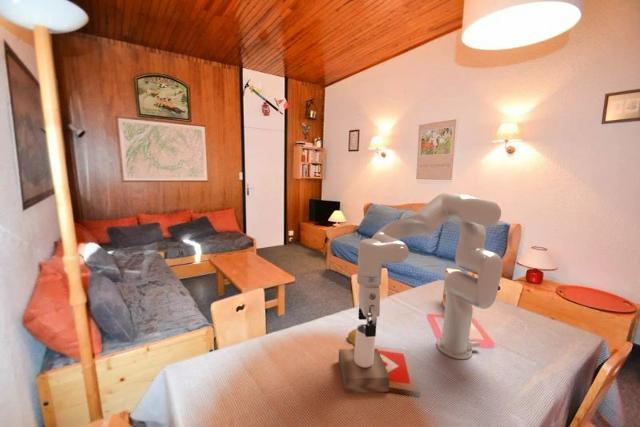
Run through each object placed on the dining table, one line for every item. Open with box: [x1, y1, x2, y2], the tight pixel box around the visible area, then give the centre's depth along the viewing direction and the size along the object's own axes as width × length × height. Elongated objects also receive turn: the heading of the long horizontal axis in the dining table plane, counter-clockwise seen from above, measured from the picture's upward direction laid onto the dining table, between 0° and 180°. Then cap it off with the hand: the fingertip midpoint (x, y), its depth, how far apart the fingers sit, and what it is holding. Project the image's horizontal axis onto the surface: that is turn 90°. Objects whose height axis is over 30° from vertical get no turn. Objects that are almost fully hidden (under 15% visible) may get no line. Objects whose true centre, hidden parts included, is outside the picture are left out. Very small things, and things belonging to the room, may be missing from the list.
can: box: [354, 323, 376, 368], centre depth 93 cm, size 6×6×12 cm
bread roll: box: [347, 328, 357, 346], centre depth 114 cm, size 8×9×4 cm
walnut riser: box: [338, 348, 391, 394], centre depth 94 cm, size 14×14×5 cm
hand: (366, 327), depth 92 cm, fingers open, 9 cm apart
